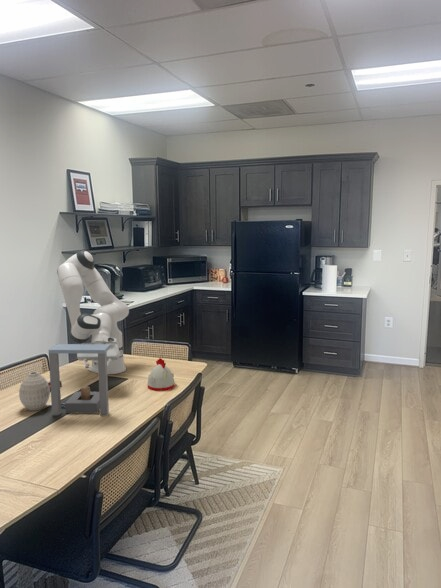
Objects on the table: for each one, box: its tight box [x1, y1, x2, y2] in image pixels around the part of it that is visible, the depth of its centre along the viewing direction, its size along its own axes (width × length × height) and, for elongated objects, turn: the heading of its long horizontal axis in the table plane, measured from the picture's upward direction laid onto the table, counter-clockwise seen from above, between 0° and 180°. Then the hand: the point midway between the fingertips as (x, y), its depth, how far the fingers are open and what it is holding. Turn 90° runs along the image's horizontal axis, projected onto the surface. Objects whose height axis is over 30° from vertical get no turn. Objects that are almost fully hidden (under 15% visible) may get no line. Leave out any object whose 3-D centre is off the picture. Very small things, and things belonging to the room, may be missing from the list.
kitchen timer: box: [147, 357, 176, 392], centre depth 224 cm, size 14×14×15 cm
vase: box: [18, 371, 51, 412], centre depth 196 cm, size 13×13×17 cm
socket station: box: [48, 343, 110, 416], centre depth 195 cm, size 16×24×30 cm
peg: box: [80, 385, 91, 400], centre depth 198 cm, size 4×4×9 cm
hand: (96, 367), depth 209 cm, fingers open, 8 cm apart
